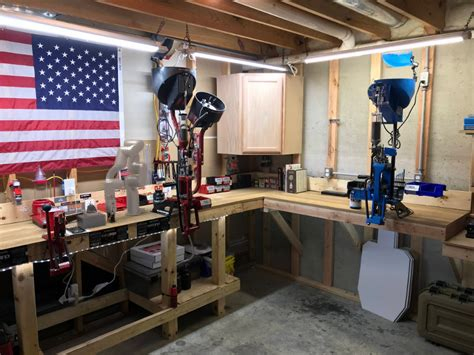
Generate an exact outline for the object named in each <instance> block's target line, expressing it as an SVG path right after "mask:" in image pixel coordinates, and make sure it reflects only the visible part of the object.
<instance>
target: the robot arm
mask: <svg viewBox="0 0 474 355" xmlns="http://www.w3.org/2000/svg"><path fill="white" fill-rule="evenodd" d="M144 148H145V142H144V140H142V139H125V140H124V141H123V145H120V146H119V147H118V148H117V151H116V156H115V160H114V164H113V165H112V167H111V168H110V169H109V170H108V171H107V173H106V177H105V180H104V181H103V191H104V192H103V193H104V194H103V195H104V208H105V209H104V210H105V212H106V217H107V220H106V221H107V222H109V220H108V218H109V217H110V220H111V222H110V223H115V222H116V214H117V212H118V210H117V202H116V190H121V189H123V188H124V187H125V192H126V194H125V195H126V212H125V216H129V217H130V216H131V217H133V216H139V215H142V211H146V208H145V207H143V208H142V207H140V196H139V195H140V194H139V190H138V188H139V189H140V188H141V189H142V188H144V187H145V186H146V185H147V181H148V180H147V178H148V164H146V163H145V162H143V161H140V157H141V155H140V153H141V151H143V149H144ZM126 167H127V172H128V173H129V174H131V175H127V176H125V178H124V180H123V179H119V178H114V177H115V175H116V174H117V173H118V172H121V171H122V170H124V169H126ZM135 174H136V175H135Z"/></svg>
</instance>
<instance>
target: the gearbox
mask: <svg viewBox="0 0 474 355" xmlns="http://www.w3.org/2000/svg"><path fill="white" fill-rule="evenodd" d="M83 212H84V214H83V215H77V220H76V225H77V227H78V226H79V227H78V228H80V227H81V228H80V229H82V228H83V229H82V230H88V229H87V228H89V229H94V228H99V227H105V226H106V225H107V222H106V221H107V220H106V217H107V215H106V214H105V213H103V212H99V211H97V212H96V211H89V212H86V211H83Z"/></svg>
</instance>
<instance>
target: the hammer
mask: <svg viewBox="0 0 474 355" xmlns="http://www.w3.org/2000/svg"><path fill="white" fill-rule="evenodd" d="M89 211H96V212H98V210H97V208H96V206H95V205H94V204H92V203H91V204H88V205H87V206H86V211H81V212H79V213H74V214H69V215H65V217H66V220H67V222H68V223H67V224H69V223H72V222H74V221H77V215H83V214H84V212H89Z"/></svg>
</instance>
